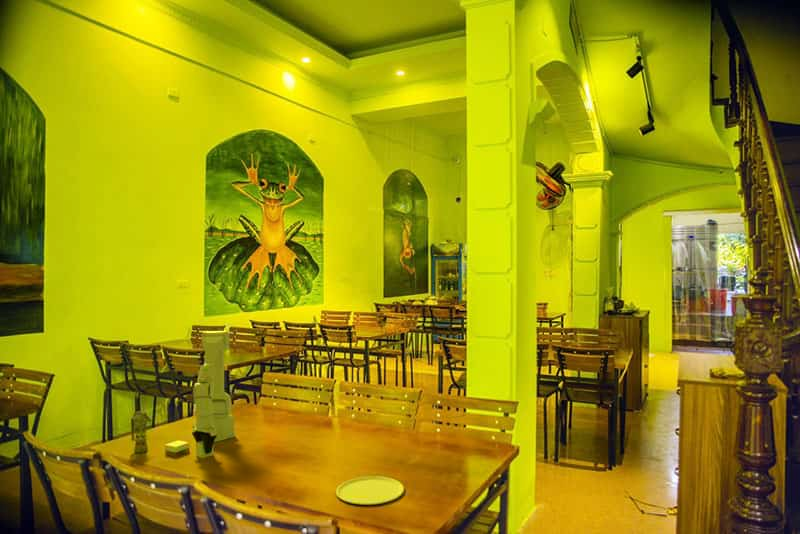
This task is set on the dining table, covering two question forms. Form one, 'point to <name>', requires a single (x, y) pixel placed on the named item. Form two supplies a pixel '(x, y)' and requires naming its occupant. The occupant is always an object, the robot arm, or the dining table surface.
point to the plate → (370, 490)
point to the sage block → (202, 450)
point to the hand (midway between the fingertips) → (204, 451)
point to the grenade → (139, 430)
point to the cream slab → (177, 446)
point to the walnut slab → (177, 452)
